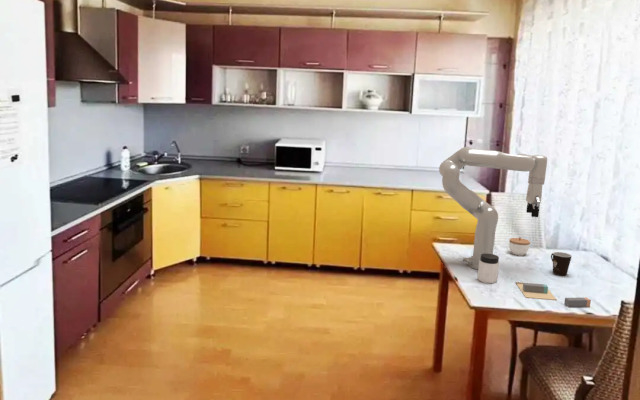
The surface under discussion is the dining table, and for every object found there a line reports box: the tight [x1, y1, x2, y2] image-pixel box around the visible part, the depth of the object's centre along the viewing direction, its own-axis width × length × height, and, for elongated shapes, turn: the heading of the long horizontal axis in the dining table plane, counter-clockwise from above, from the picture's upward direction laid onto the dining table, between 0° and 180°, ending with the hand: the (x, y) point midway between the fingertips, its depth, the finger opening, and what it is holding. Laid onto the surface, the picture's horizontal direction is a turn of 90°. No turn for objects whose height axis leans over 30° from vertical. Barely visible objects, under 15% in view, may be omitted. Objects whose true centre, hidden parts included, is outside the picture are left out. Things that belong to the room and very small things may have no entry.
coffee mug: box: [550, 251, 573, 277], centre depth 284 cm, size 12×9×10 cm
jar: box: [476, 253, 500, 284], centre depth 267 cm, size 9×8×12 cm
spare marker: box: [563, 297, 592, 308], centre depth 241 cm, size 10×3×3 cm, turn 99°
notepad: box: [515, 281, 557, 301], centre depth 257 cm, size 13×19×1 cm
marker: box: [522, 282, 549, 293], centre depth 255 cm, size 10×3×3 cm, turn 84°
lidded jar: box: [508, 237, 531, 257], centre depth 315 cm, size 11×11×9 cm
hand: (532, 214), depth 283 cm, fingers open, 9 cm apart
